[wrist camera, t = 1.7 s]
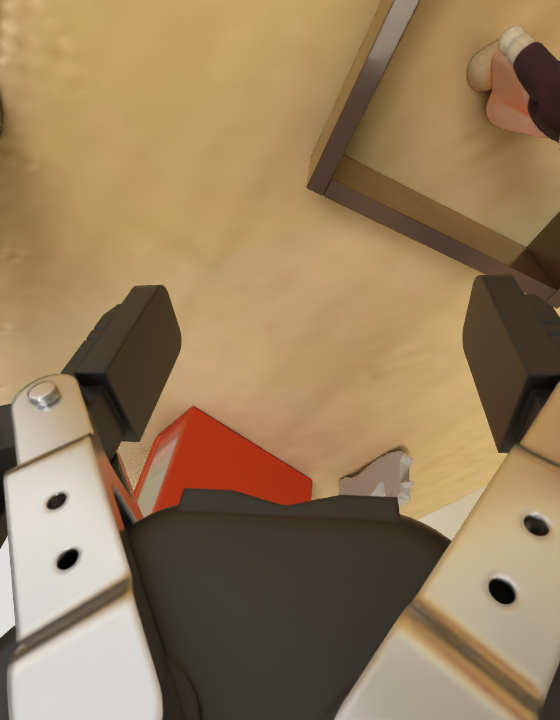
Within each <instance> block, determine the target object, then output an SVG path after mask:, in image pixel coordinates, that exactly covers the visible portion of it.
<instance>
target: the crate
mask: <svg viewBox="0 0 560 720" xmlns="http://www.w3.org/2000/svg"><path fill="white" fill-rule="evenodd" d="M419 2H420V0H382V1H381V3H380V5H379V8H378V10H377V12H376V14H375V16H374V19H373V21H372V23H371V25H370V27H369V30H368V32H367V34H366V36H365V39H364V41H363V43H362V45H361V47H360V50H359V52H358V54H357V56H356V59H355V61H354V63H353V65H352V67H351V70H350V72H349V74H348V76H347V78H346V81H345V83H344V85H343V87H342V90H341V92H340V94H339V96H338V98H337V101H336V103H335V105H334V107H333V109H332V112H331V114H330V116H329V118H328V121H327V123H326V125H325V127H324V129H323V132H322V134H321V136H320V138H319V141H318V143H317V145H316V147H315V149H314V152H313V154H312V156H311V161H310V167H309V174H308V180H307V186H306V188H307V189H309V190H312V191H314V192H316V193H318V194H320V195H323V196H324V197H326V198H328V199H330V200H333V201H335V202H337V203H339V204H341V205H343V206H345V207H347V208H349V209H351V210H353V211H355V212H357V213H360V214H362V215H364V216H366V217H368V218H370V219H372V220H374V221H376V222H378V223H380V224H382V225H384V226H386V227H389V228H391V229H393V230H395V231H397V232H399V233H401V234H403V235H405V236H407V237H409V238H411V239H413V240H416V241H418V242H420V243H422V244H424V245H426V246H428V247H430V248H432V249H434V250H436V251H438V252H440V253H443V254H445V255H447V256H449V257H451V258H453V259H455V260H457V261H459V262H461V263H463V264H465V265H467V266H470V267H472V268H474V269H476V270H478V271H480V272H482V273H484V274H486V275H503V274H511V275H513V276H514V278H515V279H516V281H517V283H518V284H519V286H520V288H521V289H522V291H523V293H526V294H535V295H536V296H538V297H539V298H541V299H542V300H544V301H545V302H547V303H548V304H550V305H551V306H552V307H555V308H559V307H560V212H559V214H558V215H557V216H556V217H555V218H554V219H553V220H552V221H551V222H550V223H549V224H548V225H547V227H546V228H545V229H544V230H543V231H542V232H541V233H540V234H539V235H538V236H537V237H536V239H535V240H534V241H533V242H532V243H531V244H530V245H529V246H528V247H527V248H526V247H524V246H522V245H520V244H518V243H516V242H514V241H512V240H510V239H508V238H506V237H504V236H502V235H500V234H498V233H496V232H494V231H492V230H490V229H488V228H486V227H484V226H482V225H480V224H478V223H476V222H474V221H473V220H471V219H469V218H467V217H465V216H463V215H461V214H459V213H457V212H455V211H453V210H451V209H449V208H447V207H445V206H443V205H441V204H439V203H437V202H435V201H433V200H431V199H429V198H427V197H425V196H423V195H421V194H419V193H417V192H415V191H413V190H411V189H409V188H408V187H406V186H404V185H402V184H400V183H398V182H396V181H394V180H392V179H390V178H388V177H386V176H384V175H382V174H380V173H378V172H376V171H374V170H372V169H370V168H368V167H366V166H364V165H362V164H360V163H358V162H356V161H354V160H352V159H350V158H348V157H346V156H344V155H343V154H344V152H345V150H346V148H347V146H348V144H349V142H350V140H351V138H352V136H353V134H354V132H355V130H356V128H357V126H358V124H359V122H360V120H361V118H362V116H363V114H364V112H365V110H366V108H367V106H368V104H369V102H370V100H371V98H372V96H373V94H374V92H375V90H376V88H377V86H378V84H379V82H380V80H381V78H382V76H383V74H384V72H385V70H386V68H387V66H388V64H389V62H390V60H391V58H392V56H393V54H394V52H395V50H396V48H397V46H398V44H399V42H400V40H401V38H402V36H403V34H404V32H405V30H406V28H407V26H408V24H409V22H410V20H411V18H412V16H413V14H414V12H415V10H416V8H417V6H418V4H419Z"/></svg>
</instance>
